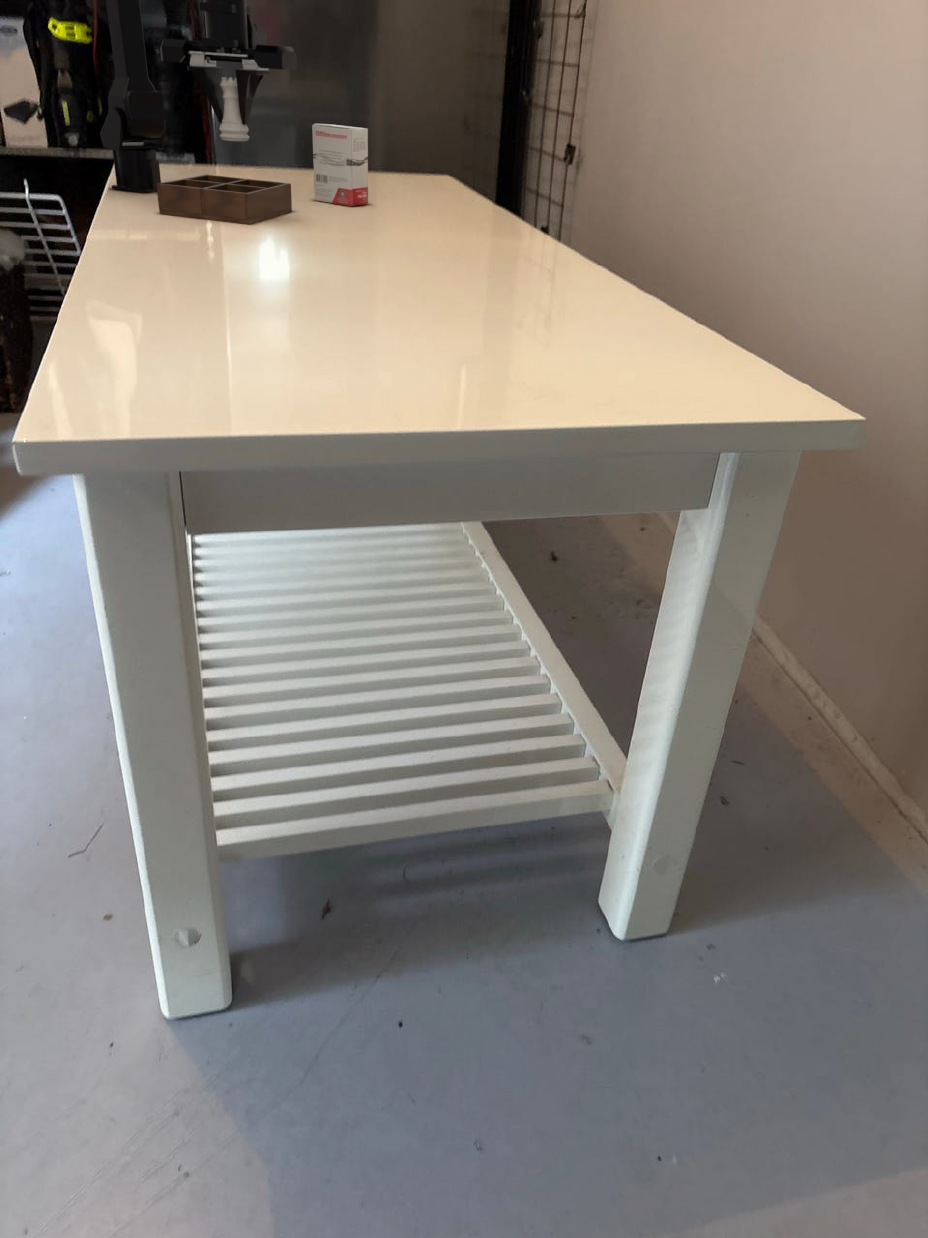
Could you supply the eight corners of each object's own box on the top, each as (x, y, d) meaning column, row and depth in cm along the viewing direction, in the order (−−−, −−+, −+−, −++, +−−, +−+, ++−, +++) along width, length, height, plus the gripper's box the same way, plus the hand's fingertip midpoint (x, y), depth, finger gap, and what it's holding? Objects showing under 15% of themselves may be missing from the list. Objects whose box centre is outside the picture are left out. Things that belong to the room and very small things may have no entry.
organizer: (159, 213, 135) (156, 183, 133) (208, 201, 147) (206, 174, 145) (249, 224, 132) (248, 193, 130) (292, 211, 144) (291, 183, 142)
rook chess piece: (246, 141, 133) (242, 78, 128) (216, 140, 133) (211, 76, 128) (253, 139, 137) (249, 78, 132) (223, 137, 136) (218, 76, 132)
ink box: (369, 204, 156) (370, 127, 150) (352, 206, 152) (351, 127, 146) (330, 197, 160) (329, 122, 153) (312, 200, 156) (310, 122, 150)
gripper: (309, 2, 130) (313, 125, 138) (192, -4, 133) (202, 116, 142) (277, -3, 121) (283, 129, 129) (152, -10, 124) (165, 119, 132)
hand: (233, 123), depth 133 cm, fingers closed on rook chess piece, 3 cm apart
